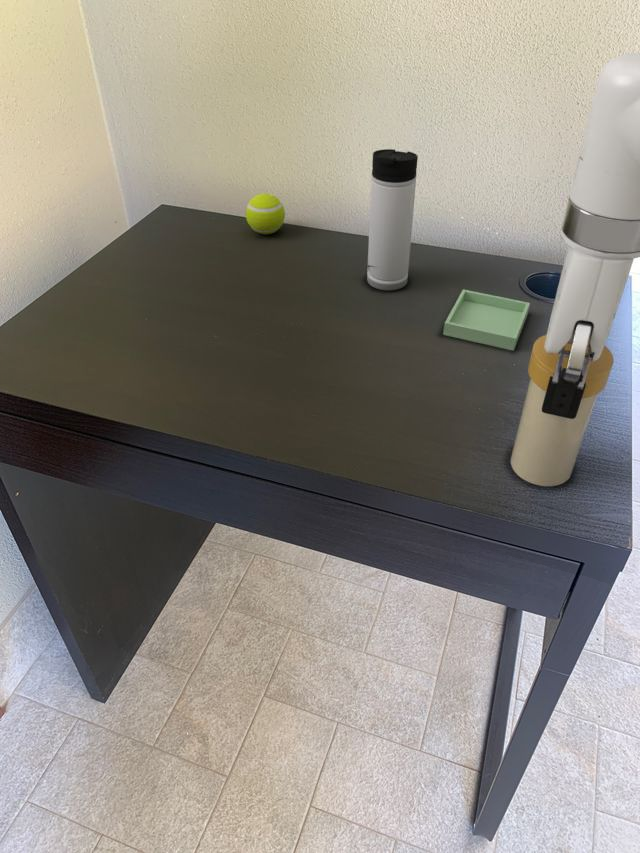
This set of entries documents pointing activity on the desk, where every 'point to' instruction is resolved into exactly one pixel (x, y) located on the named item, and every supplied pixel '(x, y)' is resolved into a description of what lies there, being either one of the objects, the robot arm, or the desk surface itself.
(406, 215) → the travel mug
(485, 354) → the desk surface
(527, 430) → the jar
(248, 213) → the tennis ball
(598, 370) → the lid
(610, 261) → the robot arm
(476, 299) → the tray
